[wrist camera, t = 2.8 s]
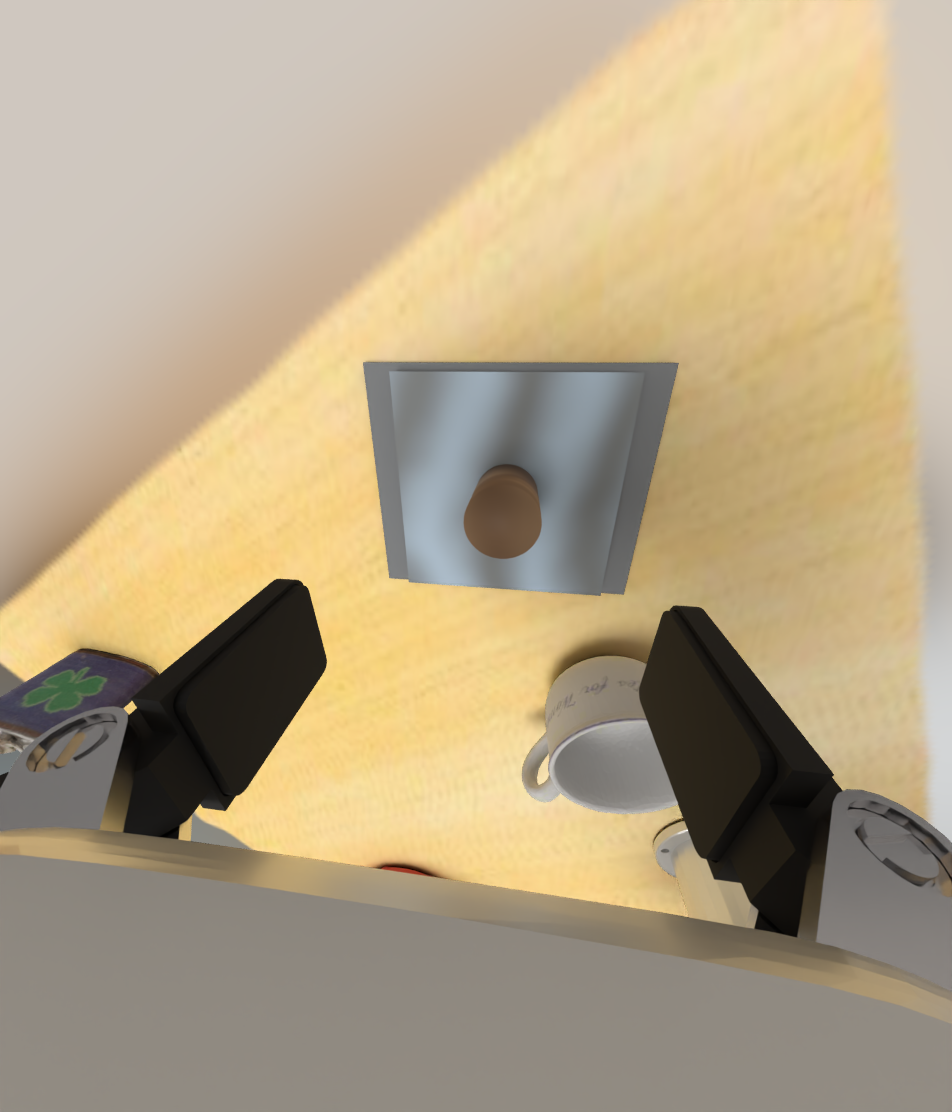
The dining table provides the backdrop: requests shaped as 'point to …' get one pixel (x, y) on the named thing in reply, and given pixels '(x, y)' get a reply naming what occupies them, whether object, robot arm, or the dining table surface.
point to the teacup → (599, 742)
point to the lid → (512, 475)
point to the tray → (652, 394)
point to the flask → (68, 694)
